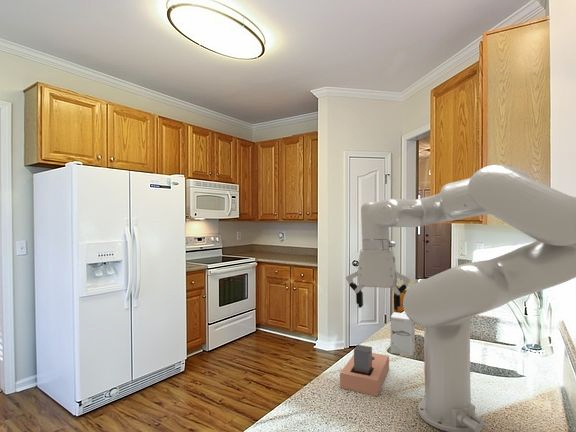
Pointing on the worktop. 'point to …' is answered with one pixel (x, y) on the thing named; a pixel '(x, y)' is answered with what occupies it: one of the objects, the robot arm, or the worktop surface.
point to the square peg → (363, 360)
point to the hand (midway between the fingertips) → (378, 307)
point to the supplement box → (402, 334)
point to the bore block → (365, 376)
